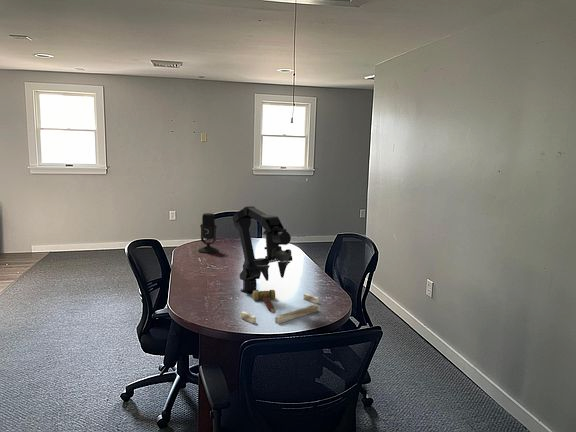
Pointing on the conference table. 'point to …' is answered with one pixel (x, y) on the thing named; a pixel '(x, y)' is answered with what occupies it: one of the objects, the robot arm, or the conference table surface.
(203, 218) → the microphone
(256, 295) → the gavel
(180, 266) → the conference table surface
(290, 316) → the wooden bars
